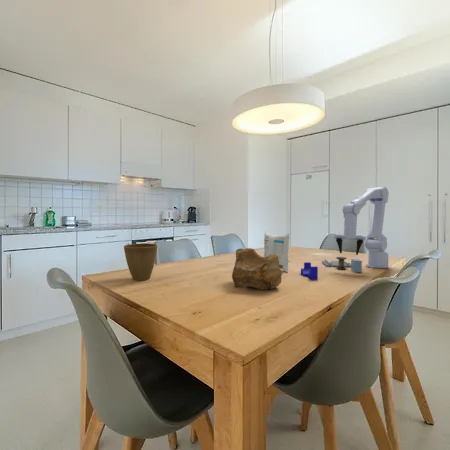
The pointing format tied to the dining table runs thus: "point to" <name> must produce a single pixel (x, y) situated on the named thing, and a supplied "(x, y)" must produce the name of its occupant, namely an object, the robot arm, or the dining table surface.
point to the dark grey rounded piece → (341, 263)
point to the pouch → (277, 248)
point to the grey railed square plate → (335, 263)
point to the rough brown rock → (256, 270)
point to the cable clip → (309, 271)
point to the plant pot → (140, 260)
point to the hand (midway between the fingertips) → (348, 253)
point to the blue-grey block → (356, 265)
